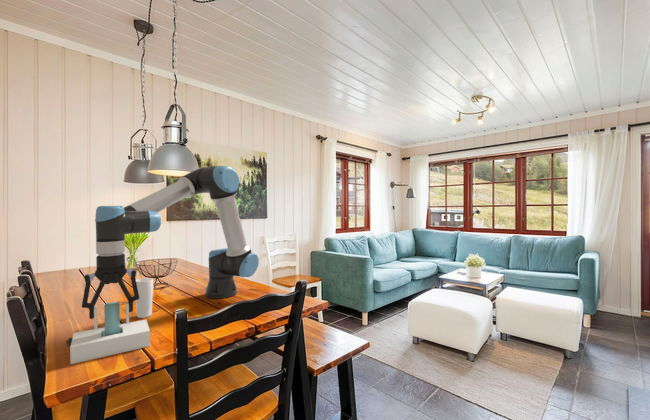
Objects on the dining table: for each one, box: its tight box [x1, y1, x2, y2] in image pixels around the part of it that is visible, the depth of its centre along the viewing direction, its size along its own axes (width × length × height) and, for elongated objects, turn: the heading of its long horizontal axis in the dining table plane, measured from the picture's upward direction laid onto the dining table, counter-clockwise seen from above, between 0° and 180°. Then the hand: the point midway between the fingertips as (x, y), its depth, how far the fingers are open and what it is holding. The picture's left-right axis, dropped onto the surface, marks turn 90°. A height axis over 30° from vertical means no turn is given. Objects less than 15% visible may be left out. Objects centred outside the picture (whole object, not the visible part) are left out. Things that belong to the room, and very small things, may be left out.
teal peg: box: [103, 301, 121, 336], centre depth 100 cm, size 4×4×14 cm
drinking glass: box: [134, 277, 154, 319], centre depth 128 cm, size 7×7×15 cm
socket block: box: [69, 319, 151, 365], centre depth 100 cm, size 20×12×5 cm, turn 125°
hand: (112, 325), depth 100 cm, fingers open, 8 cm apart
